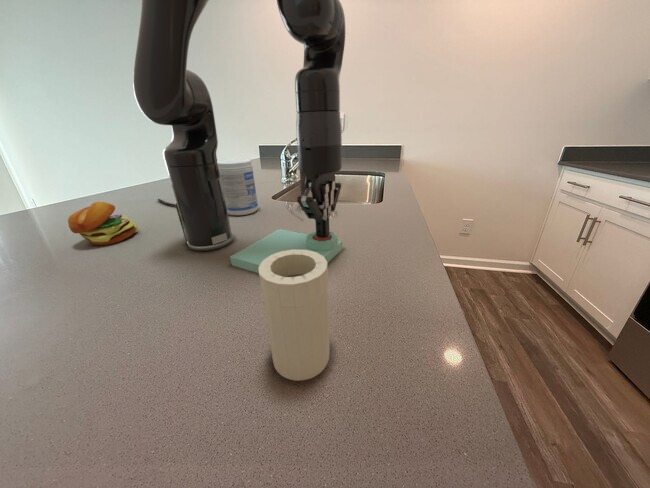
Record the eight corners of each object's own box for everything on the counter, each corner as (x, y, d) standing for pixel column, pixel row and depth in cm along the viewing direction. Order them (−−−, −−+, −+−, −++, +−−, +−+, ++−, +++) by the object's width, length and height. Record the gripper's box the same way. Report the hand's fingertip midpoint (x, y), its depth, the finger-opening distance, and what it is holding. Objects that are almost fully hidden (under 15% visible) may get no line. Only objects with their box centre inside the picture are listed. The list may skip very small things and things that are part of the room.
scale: (231, 265, 48) (228, 248, 47) (280, 236, 60) (278, 222, 59) (303, 287, 42) (302, 268, 40) (342, 249, 53) (342, 233, 52)
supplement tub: (258, 214, 75) (251, 162, 68) (224, 218, 73) (213, 164, 67) (258, 205, 83) (251, 157, 77) (227, 208, 82) (218, 159, 75)
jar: (261, 366, 28) (243, 273, 23) (294, 328, 33) (285, 244, 28) (311, 391, 25) (303, 291, 20) (338, 345, 31) (338, 256, 25)
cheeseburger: (146, 235, 62) (119, 199, 56) (96, 261, 56) (61, 223, 51) (134, 225, 68) (109, 191, 62) (88, 247, 63) (56, 212, 57)
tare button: (311, 244, 51) (310, 237, 50) (319, 238, 53) (318, 231, 53) (325, 247, 49) (325, 240, 49) (332, 241, 52) (332, 234, 51)
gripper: (318, 139, 50) (322, 222, 58) (277, 145, 40) (287, 246, 47) (354, 139, 47) (353, 227, 54) (320, 146, 37) (323, 253, 44)
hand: (322, 235), depth 51 cm, fingers closed
